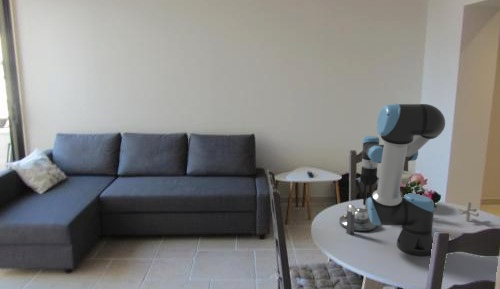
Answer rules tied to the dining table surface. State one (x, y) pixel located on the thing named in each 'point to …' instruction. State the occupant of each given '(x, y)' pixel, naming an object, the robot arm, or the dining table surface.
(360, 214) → the cover
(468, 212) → the pipe connector
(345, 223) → the turntable
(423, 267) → the dining table surface
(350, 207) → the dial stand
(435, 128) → the robot arm
